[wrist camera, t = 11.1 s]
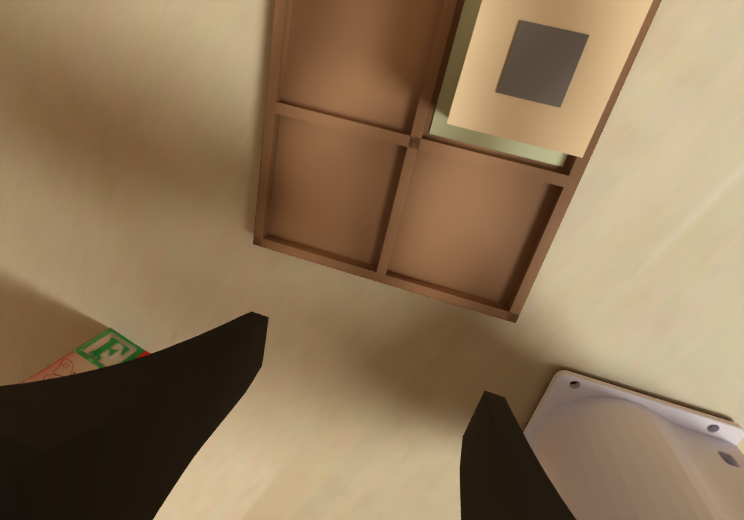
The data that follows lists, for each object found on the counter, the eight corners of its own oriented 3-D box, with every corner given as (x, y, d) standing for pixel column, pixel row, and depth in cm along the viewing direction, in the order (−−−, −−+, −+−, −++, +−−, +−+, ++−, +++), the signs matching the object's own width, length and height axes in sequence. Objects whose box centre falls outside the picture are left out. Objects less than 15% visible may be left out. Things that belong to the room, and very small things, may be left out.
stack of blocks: (117, 506, 37) (-34, 681, 26) (62, 472, 36) (-114, 633, 25) (183, 371, 27) (-7, 551, 16) (110, 323, 27) (-133, 473, 16)
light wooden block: (601, 25, 14) (657, -8, 10) (552, 144, 16) (582, 158, 12) (485, 0, 15) (493, -40, 11) (450, 119, 17) (446, 123, 13)
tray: (656, -10, 14) (669, -18, 13) (513, 313, 20) (515, 322, 19) (293, -80, 16) (283, -91, 15) (262, 238, 22) (253, 244, 21)
